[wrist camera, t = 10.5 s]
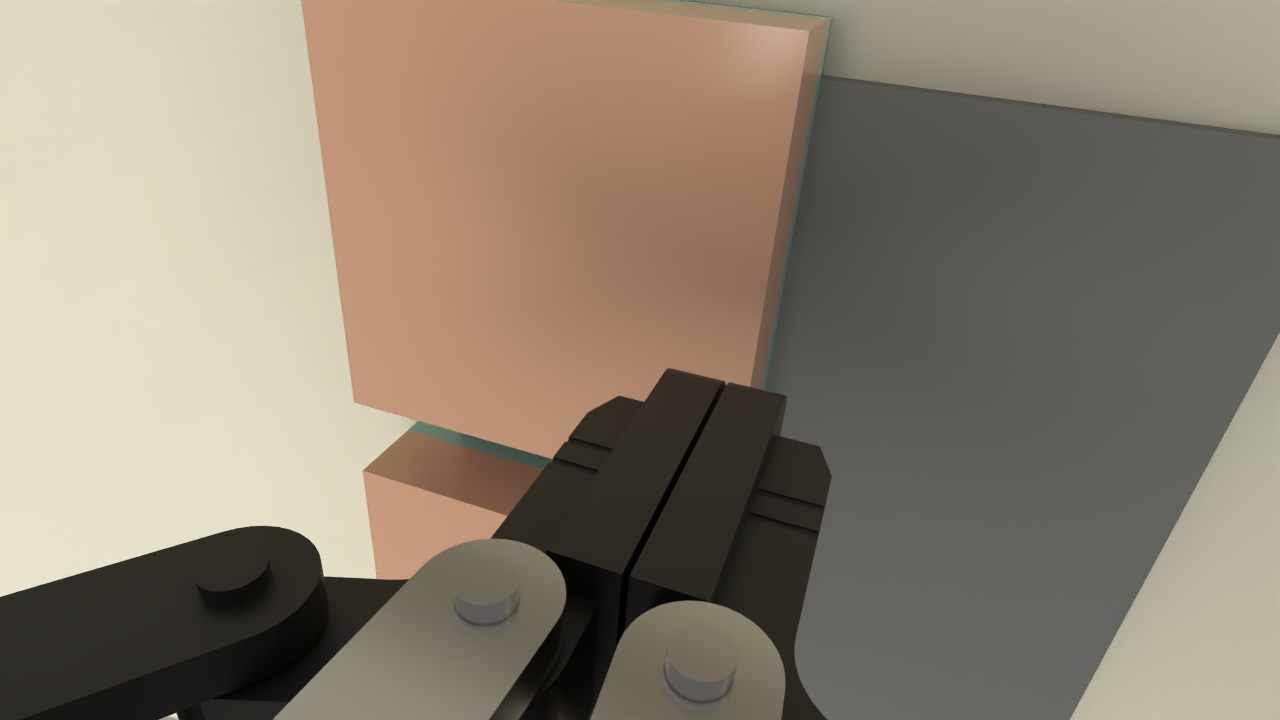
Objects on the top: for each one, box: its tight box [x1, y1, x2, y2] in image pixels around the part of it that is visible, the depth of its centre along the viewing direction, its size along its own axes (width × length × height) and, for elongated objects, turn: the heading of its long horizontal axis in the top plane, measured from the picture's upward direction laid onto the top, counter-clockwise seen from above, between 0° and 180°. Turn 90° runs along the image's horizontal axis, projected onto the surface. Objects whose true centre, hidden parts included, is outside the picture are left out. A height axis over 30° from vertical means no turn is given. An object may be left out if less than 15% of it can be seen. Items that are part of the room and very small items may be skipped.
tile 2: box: [363, 421, 553, 580], centre depth 21 cm, size 2×9×9 cm
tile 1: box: [301, 0, 832, 459], centre depth 16 cm, size 2×9×9 cm
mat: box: [765, 75, 1280, 720], centre depth 18 cm, size 16×18×1 cm
